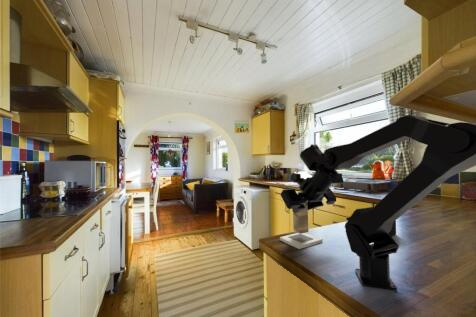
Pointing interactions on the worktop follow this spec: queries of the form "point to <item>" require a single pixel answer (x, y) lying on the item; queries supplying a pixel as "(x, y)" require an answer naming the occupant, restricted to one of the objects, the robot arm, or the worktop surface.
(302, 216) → the wooden block
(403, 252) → the worktop surface
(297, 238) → the mat
